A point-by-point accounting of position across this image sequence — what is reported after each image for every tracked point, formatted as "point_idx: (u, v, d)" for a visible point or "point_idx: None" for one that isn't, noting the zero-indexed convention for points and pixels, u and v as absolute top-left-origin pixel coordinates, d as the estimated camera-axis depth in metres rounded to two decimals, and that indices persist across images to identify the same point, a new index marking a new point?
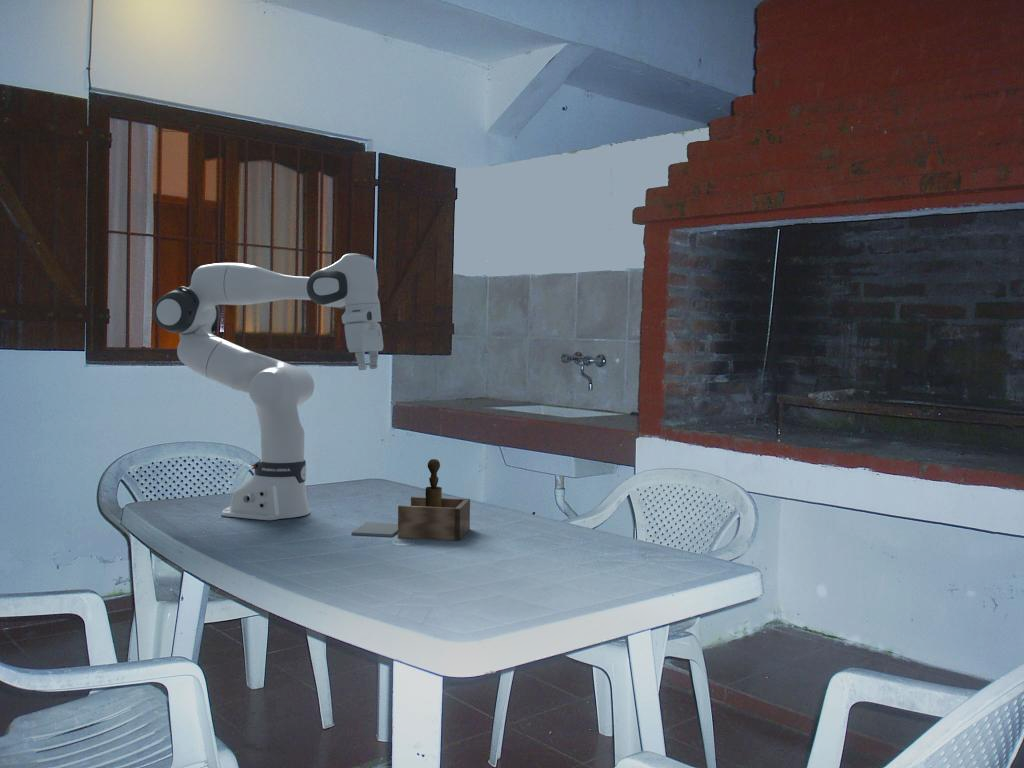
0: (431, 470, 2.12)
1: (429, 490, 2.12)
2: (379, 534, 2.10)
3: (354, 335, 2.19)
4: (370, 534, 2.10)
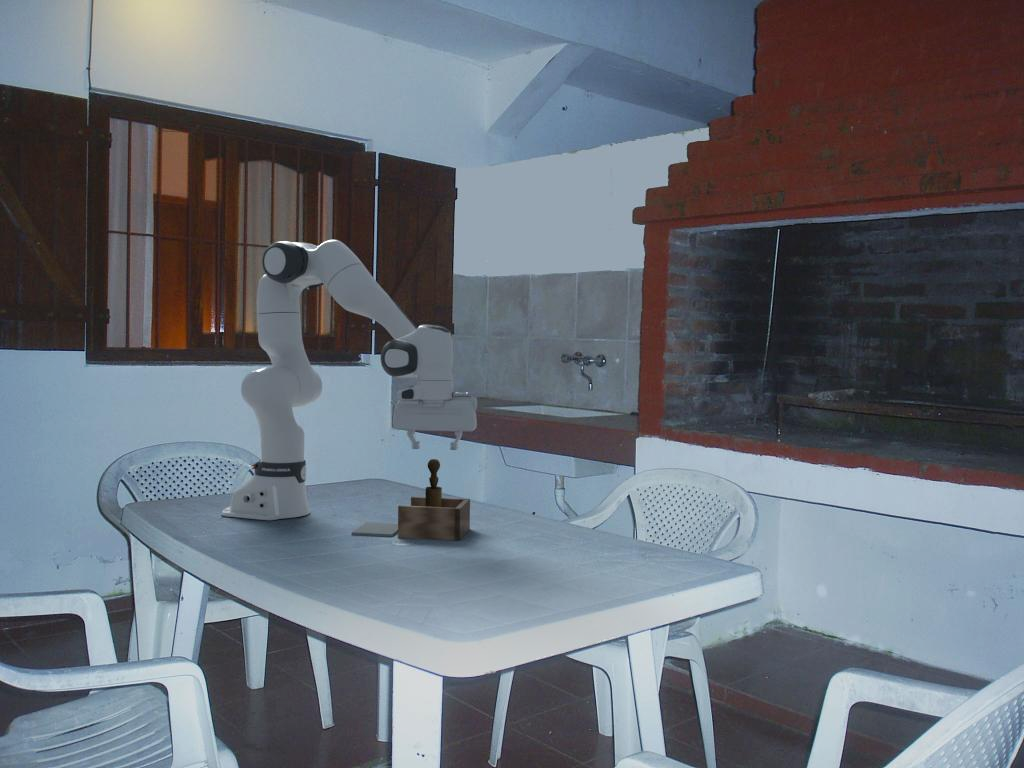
0: (431, 470, 2.12)
1: (429, 490, 2.12)
2: (379, 534, 2.10)
3: None
4: (370, 534, 2.10)
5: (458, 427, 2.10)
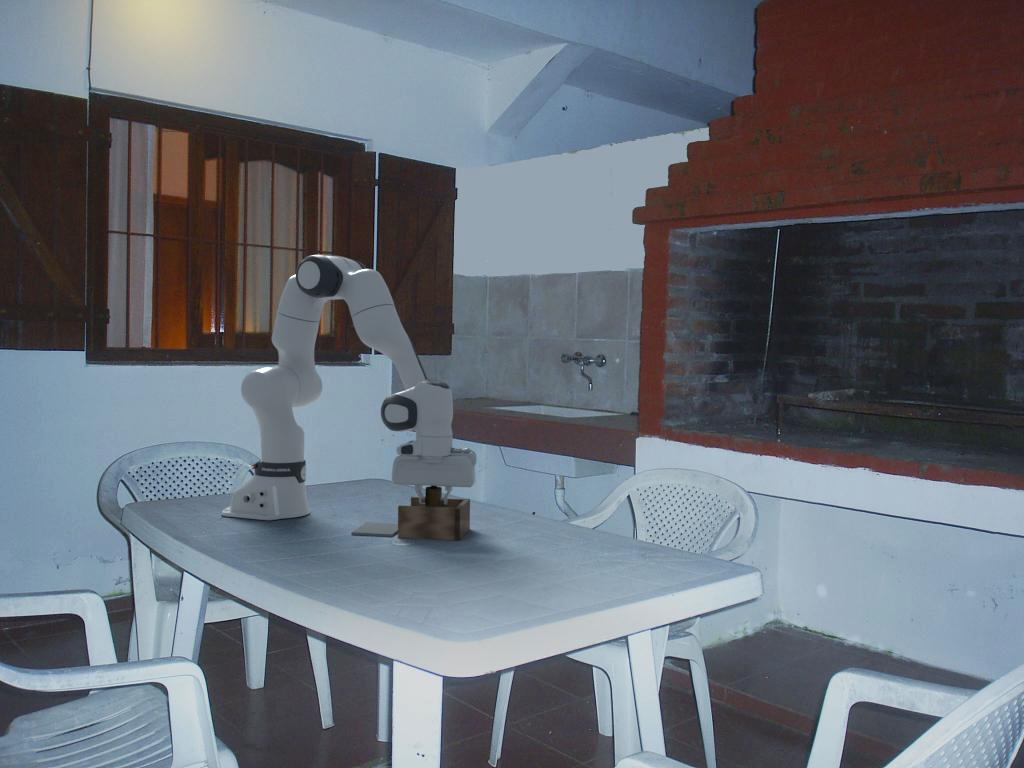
0: None
1: (429, 490, 2.12)
2: (379, 534, 2.10)
3: None
4: (370, 534, 2.10)
5: (457, 483, 2.11)
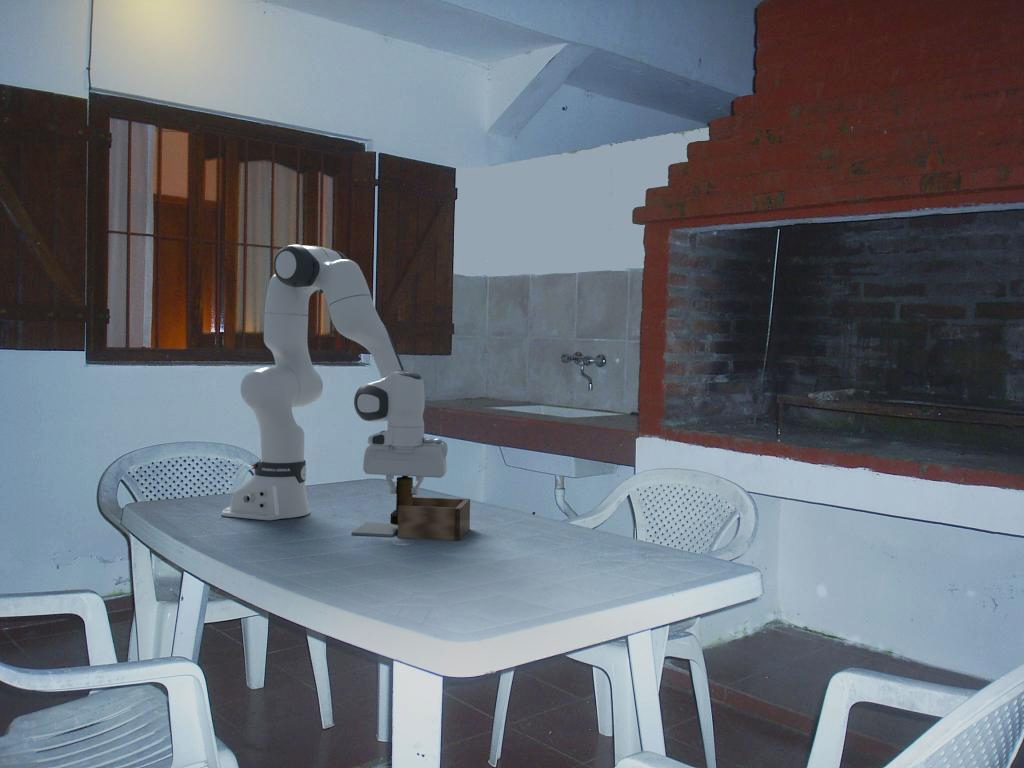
0: None
1: (400, 480, 2.13)
2: (379, 534, 2.10)
3: None
4: (370, 534, 2.10)
5: (428, 473, 2.12)
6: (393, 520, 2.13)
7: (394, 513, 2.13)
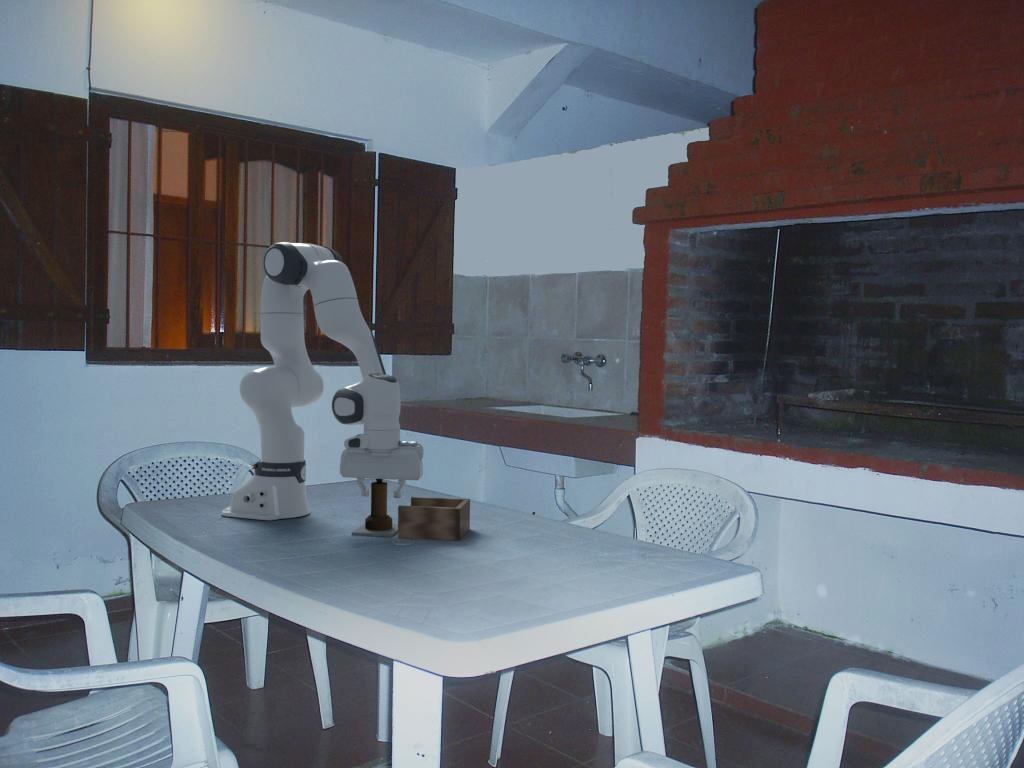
0: None
1: (374, 485, 2.14)
2: (379, 534, 2.10)
3: None
4: (370, 534, 2.10)
5: (404, 476, 2.13)
6: (368, 525, 2.14)
7: (369, 518, 2.14)
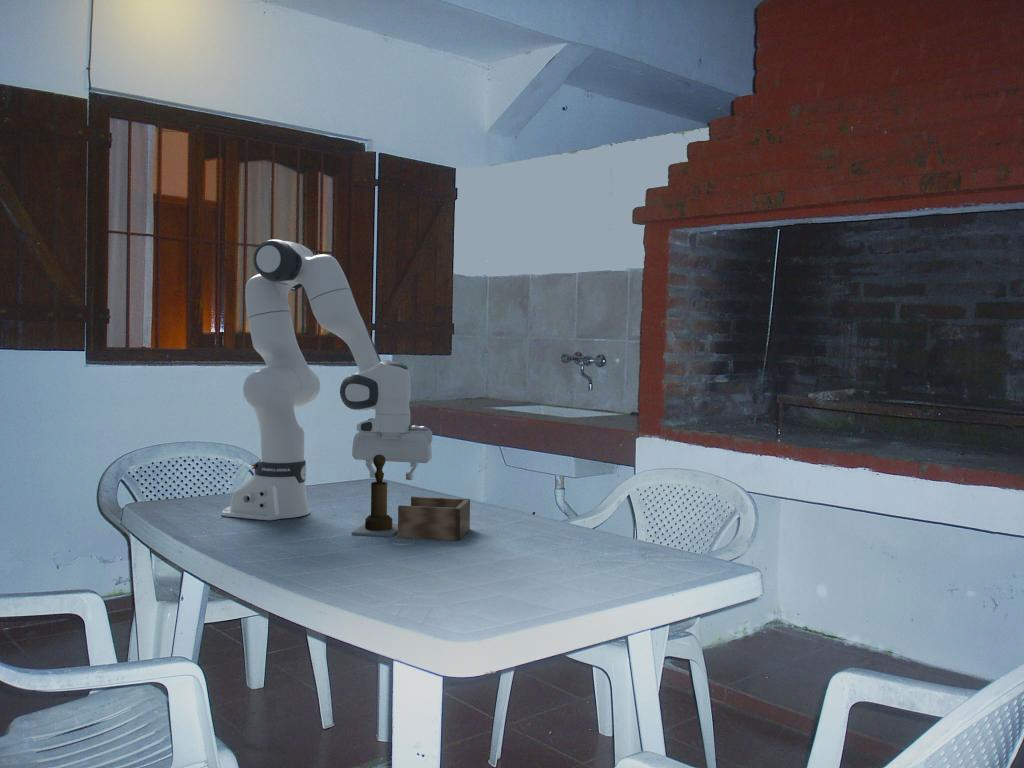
0: (376, 465, 2.14)
1: (374, 485, 2.14)
2: (379, 534, 2.10)
3: None
4: (370, 534, 2.10)
5: (413, 459, 2.22)
6: (368, 525, 2.14)
7: (369, 518, 2.14)
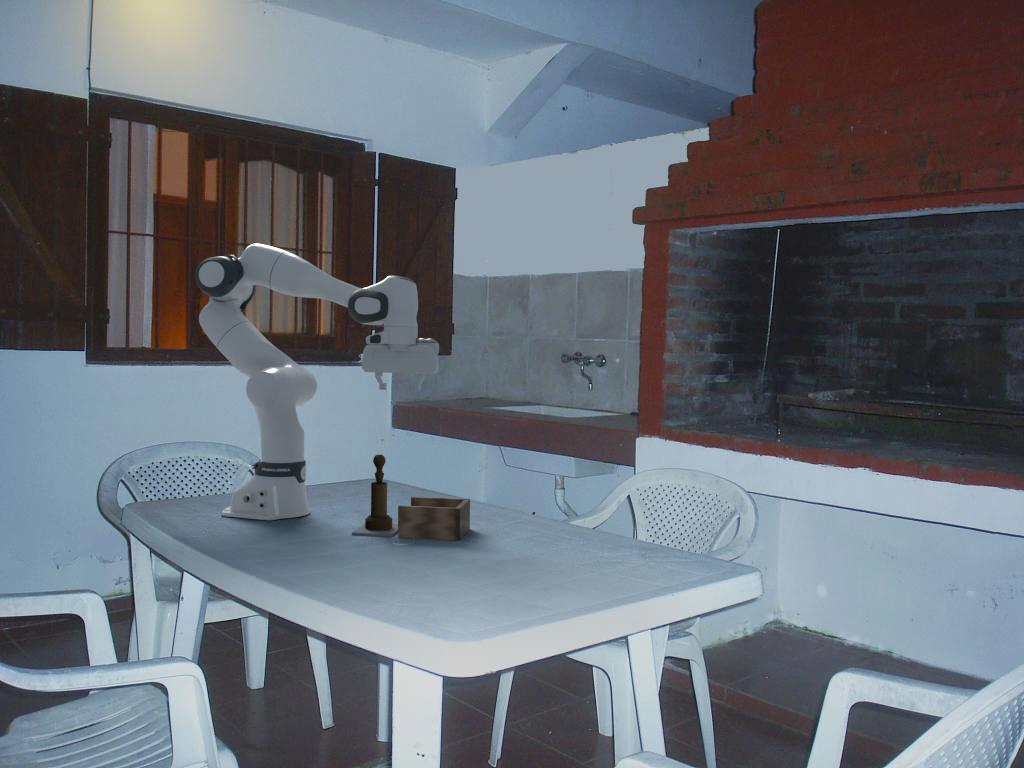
0: (376, 465, 2.14)
1: (374, 485, 2.14)
2: (379, 534, 2.10)
3: None
4: (370, 534, 2.10)
5: (421, 370, 2.30)
6: (368, 525, 2.14)
7: (369, 518, 2.14)
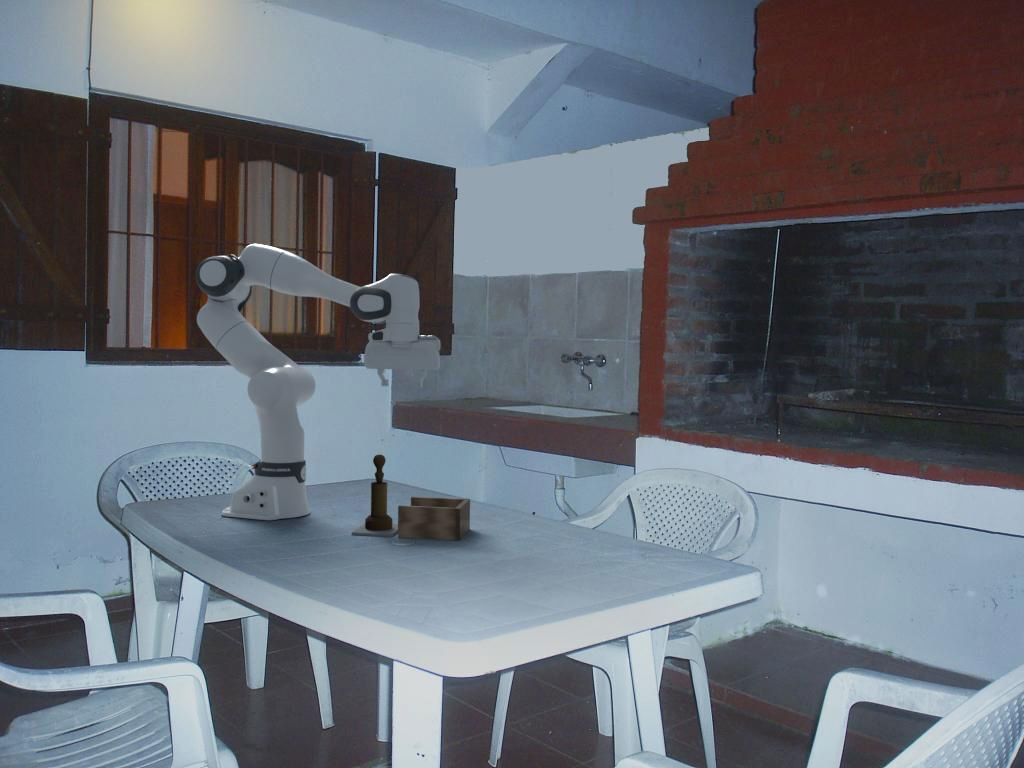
0: (376, 465, 2.14)
1: (374, 485, 2.14)
2: (379, 534, 2.10)
3: None
4: (370, 534, 2.10)
5: (423, 366, 2.33)
6: (368, 525, 2.14)
7: (369, 518, 2.14)
